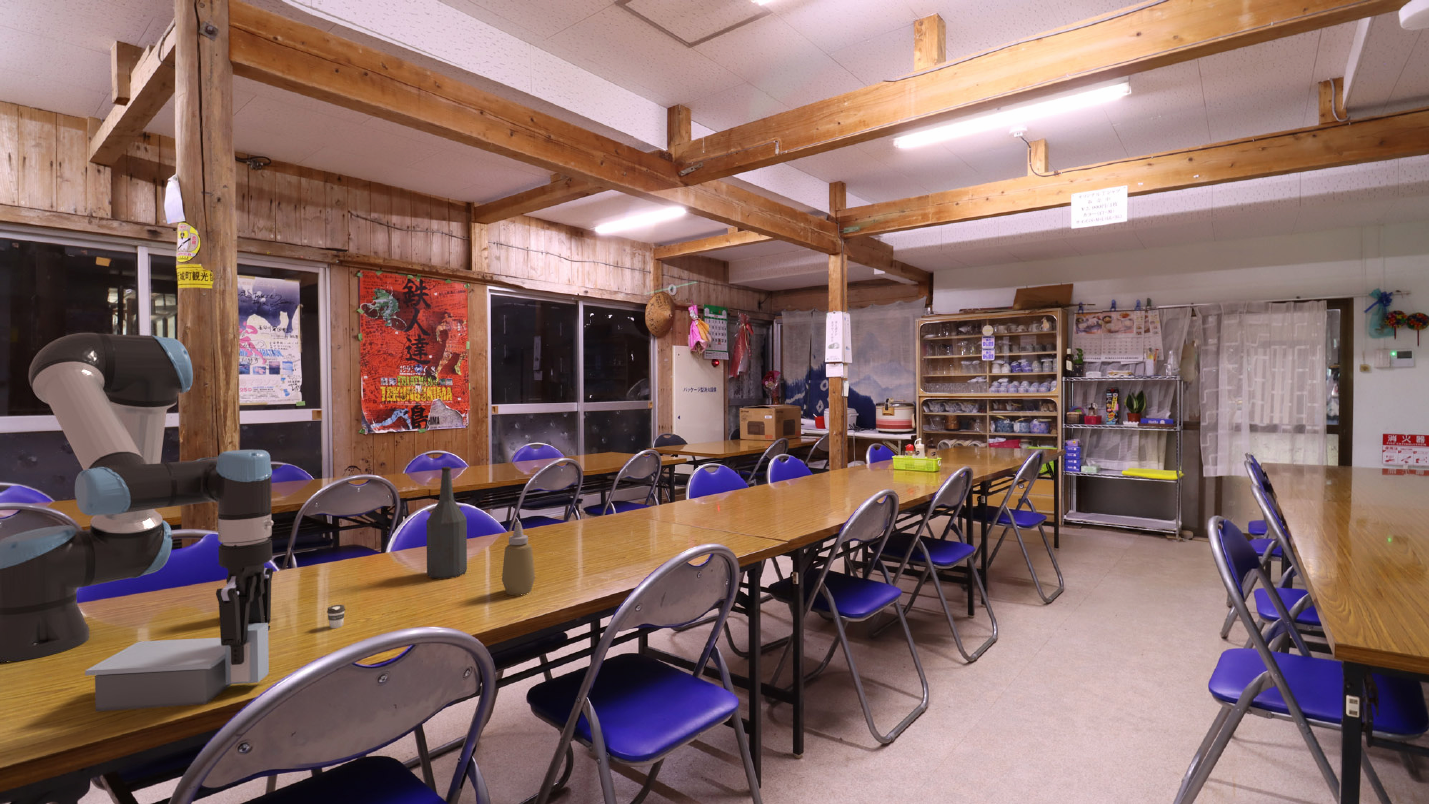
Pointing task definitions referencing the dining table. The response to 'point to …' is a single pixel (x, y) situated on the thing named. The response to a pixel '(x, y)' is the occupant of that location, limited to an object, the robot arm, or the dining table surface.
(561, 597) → the dining table surface
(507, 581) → the squeeze bottle
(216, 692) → the tub
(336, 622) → the coffee cup
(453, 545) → the bottle
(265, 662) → the lid
